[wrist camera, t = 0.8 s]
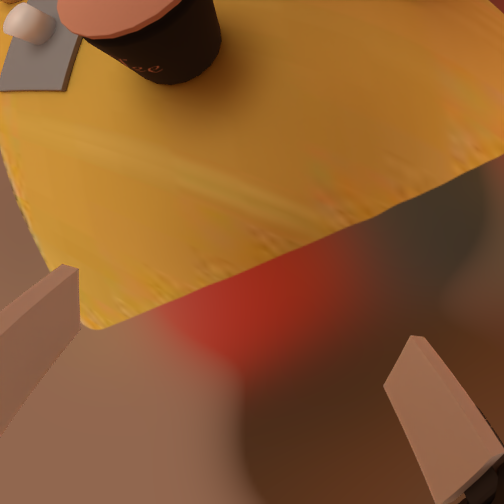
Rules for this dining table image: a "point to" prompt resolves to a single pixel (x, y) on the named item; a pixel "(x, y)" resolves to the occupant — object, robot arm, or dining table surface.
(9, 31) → the grey plate with knob
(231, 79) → the dining table surface
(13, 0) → the mug
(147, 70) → the coffee jar
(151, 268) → the dining table surface
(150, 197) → the dining table surface
